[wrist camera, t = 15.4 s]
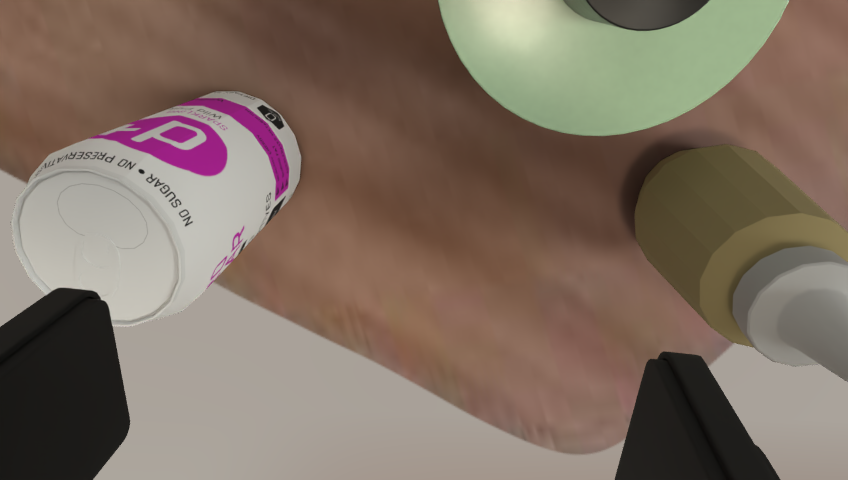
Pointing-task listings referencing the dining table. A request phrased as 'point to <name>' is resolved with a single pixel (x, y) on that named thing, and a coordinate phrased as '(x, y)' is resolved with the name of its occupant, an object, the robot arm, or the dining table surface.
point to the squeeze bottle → (749, 253)
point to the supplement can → (156, 204)
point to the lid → (606, 56)
